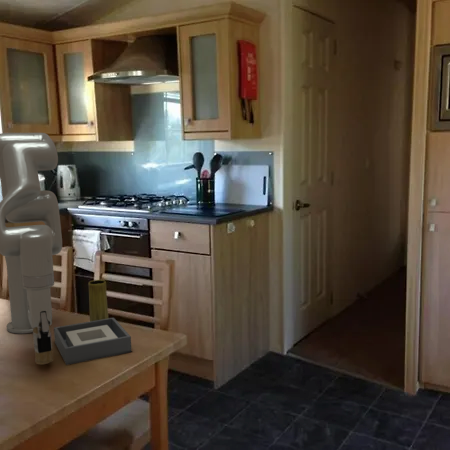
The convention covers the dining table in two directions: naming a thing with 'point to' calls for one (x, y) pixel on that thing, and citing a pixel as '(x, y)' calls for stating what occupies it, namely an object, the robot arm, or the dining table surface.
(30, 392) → the dining table surface
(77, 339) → the block
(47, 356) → the sprinkles bottle
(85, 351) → the open box
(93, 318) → the vase
